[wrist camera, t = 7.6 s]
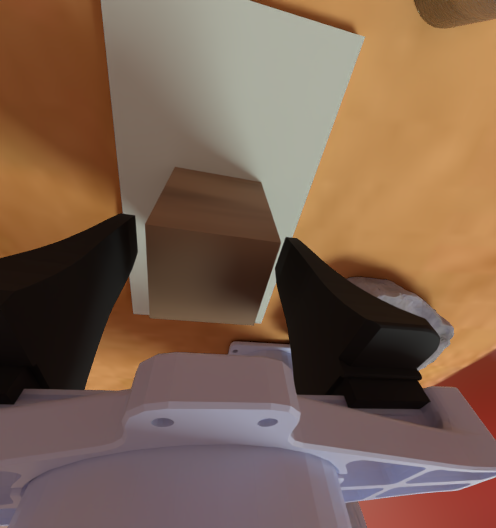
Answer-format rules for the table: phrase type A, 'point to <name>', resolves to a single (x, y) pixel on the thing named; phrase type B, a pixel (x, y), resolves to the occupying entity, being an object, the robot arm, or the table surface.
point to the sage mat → (221, 103)
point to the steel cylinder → (455, 12)
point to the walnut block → (209, 248)
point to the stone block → (408, 308)
